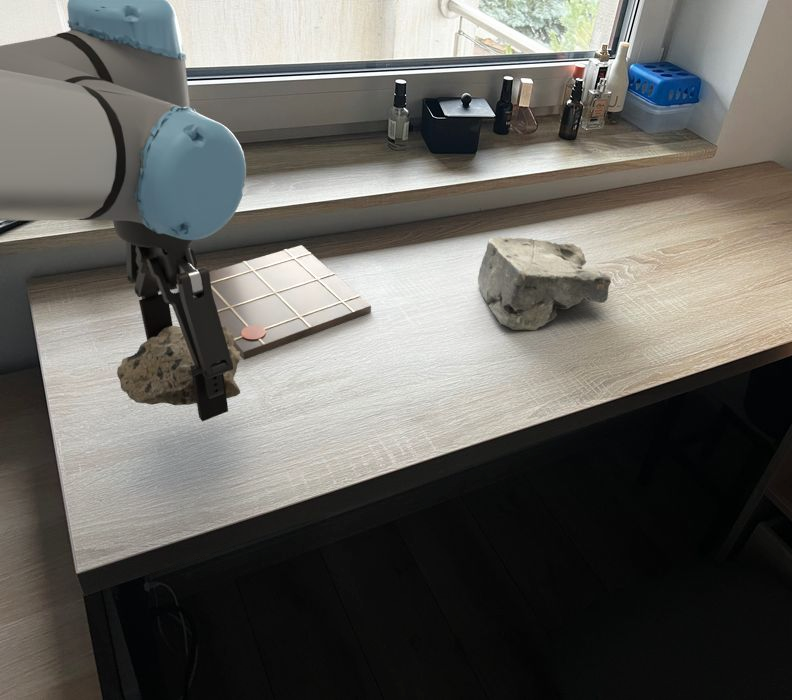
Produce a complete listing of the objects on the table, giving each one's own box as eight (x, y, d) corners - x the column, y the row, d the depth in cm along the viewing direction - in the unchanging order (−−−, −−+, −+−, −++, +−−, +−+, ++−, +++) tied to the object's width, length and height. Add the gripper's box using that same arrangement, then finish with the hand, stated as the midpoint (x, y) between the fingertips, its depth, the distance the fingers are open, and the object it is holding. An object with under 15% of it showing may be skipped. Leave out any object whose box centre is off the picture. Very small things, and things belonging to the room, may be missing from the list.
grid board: (243, 359, 95) (243, 351, 94) (181, 287, 106) (179, 279, 106) (371, 312, 106) (371, 304, 105) (301, 251, 117) (301, 243, 116)
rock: (127, 353, 78) (120, 319, 76) (240, 345, 81) (236, 313, 79) (116, 421, 70) (108, 387, 67) (242, 410, 73) (239, 376, 70)
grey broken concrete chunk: (609, 332, 109) (623, 270, 104) (498, 333, 104) (508, 268, 100) (570, 290, 122) (581, 234, 118) (470, 289, 118) (478, 230, 113)
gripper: (261, 239, 58) (276, 433, 71) (144, 132, 71) (175, 311, 84) (167, 264, 53) (202, 465, 66) (62, 145, 67) (108, 331, 80)
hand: (187, 379), depth 75 cm, fingers closed on rock, 12 cm apart
